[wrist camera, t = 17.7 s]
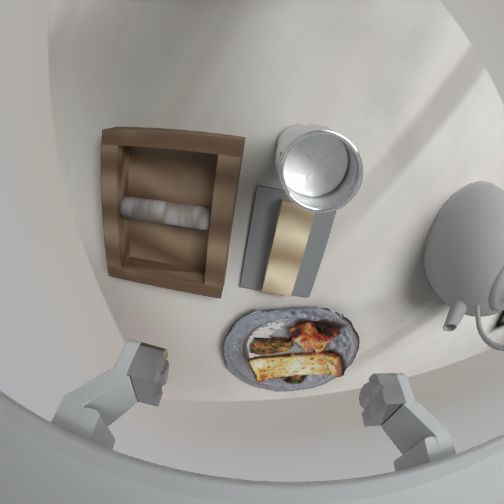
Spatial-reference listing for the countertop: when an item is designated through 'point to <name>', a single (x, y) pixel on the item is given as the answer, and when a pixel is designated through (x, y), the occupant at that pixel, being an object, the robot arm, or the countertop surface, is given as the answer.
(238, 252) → the countertop surface
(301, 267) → the rubber mat
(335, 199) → the drinking glass
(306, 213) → the maple bar
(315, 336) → the food plate
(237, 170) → the pocket board
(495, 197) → the kettle
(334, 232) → the countertop surface
